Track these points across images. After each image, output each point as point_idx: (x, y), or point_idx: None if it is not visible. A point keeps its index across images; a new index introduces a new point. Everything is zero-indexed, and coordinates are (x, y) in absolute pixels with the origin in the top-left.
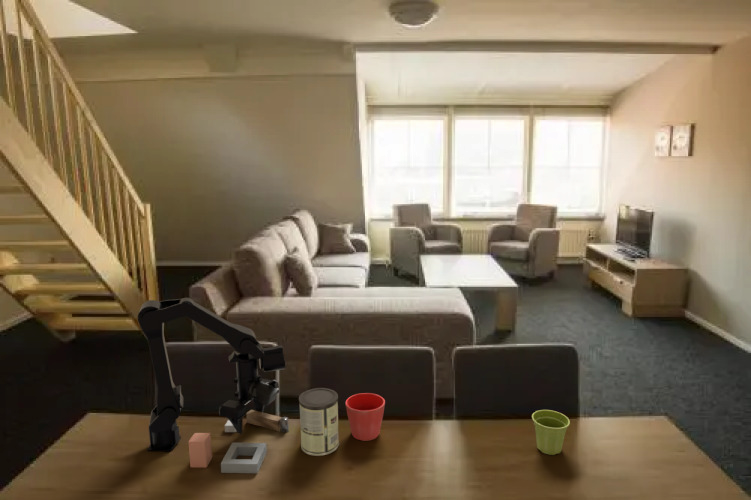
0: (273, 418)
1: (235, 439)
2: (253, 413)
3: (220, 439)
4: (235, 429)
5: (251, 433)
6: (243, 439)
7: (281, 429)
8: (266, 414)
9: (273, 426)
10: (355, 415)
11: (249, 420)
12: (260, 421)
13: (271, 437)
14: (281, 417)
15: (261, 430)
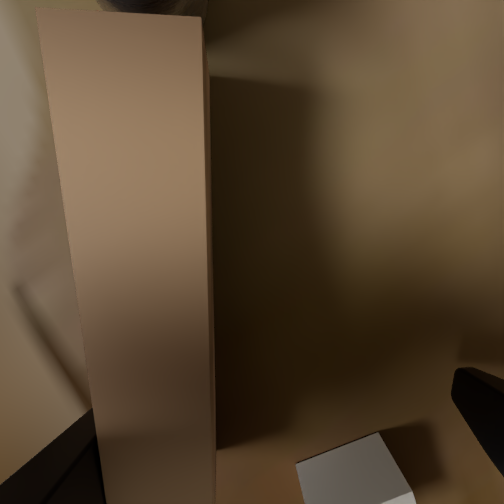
0: (160, 160)
1: None
2: (180, 501)
3: None
4: (386, 453)
5: (351, 311)
6: (455, 312)
7: (202, 7)
8: (112, 345)
9: (209, 143)
10: None
11: (215, 451)
12: (212, 341)
13: (354, 72)
14: (45, 26)
15: (273, 260)
